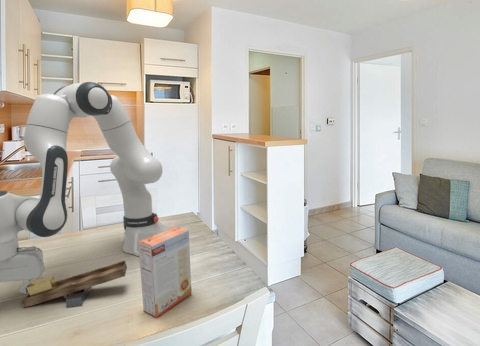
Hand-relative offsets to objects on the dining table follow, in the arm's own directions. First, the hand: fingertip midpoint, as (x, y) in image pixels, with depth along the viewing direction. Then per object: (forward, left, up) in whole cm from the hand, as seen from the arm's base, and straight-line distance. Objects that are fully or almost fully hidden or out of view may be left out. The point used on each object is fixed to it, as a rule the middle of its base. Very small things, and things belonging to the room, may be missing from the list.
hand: (5, 294), depth 87 cm
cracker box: (-45, +11, -3) cm, 47 cm away
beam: (-19, 0, 0) cm, 19 cm away
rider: (-10, 0, -1) cm, 10 cm away
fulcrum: (-19, 0, -3) cm, 19 cm away
